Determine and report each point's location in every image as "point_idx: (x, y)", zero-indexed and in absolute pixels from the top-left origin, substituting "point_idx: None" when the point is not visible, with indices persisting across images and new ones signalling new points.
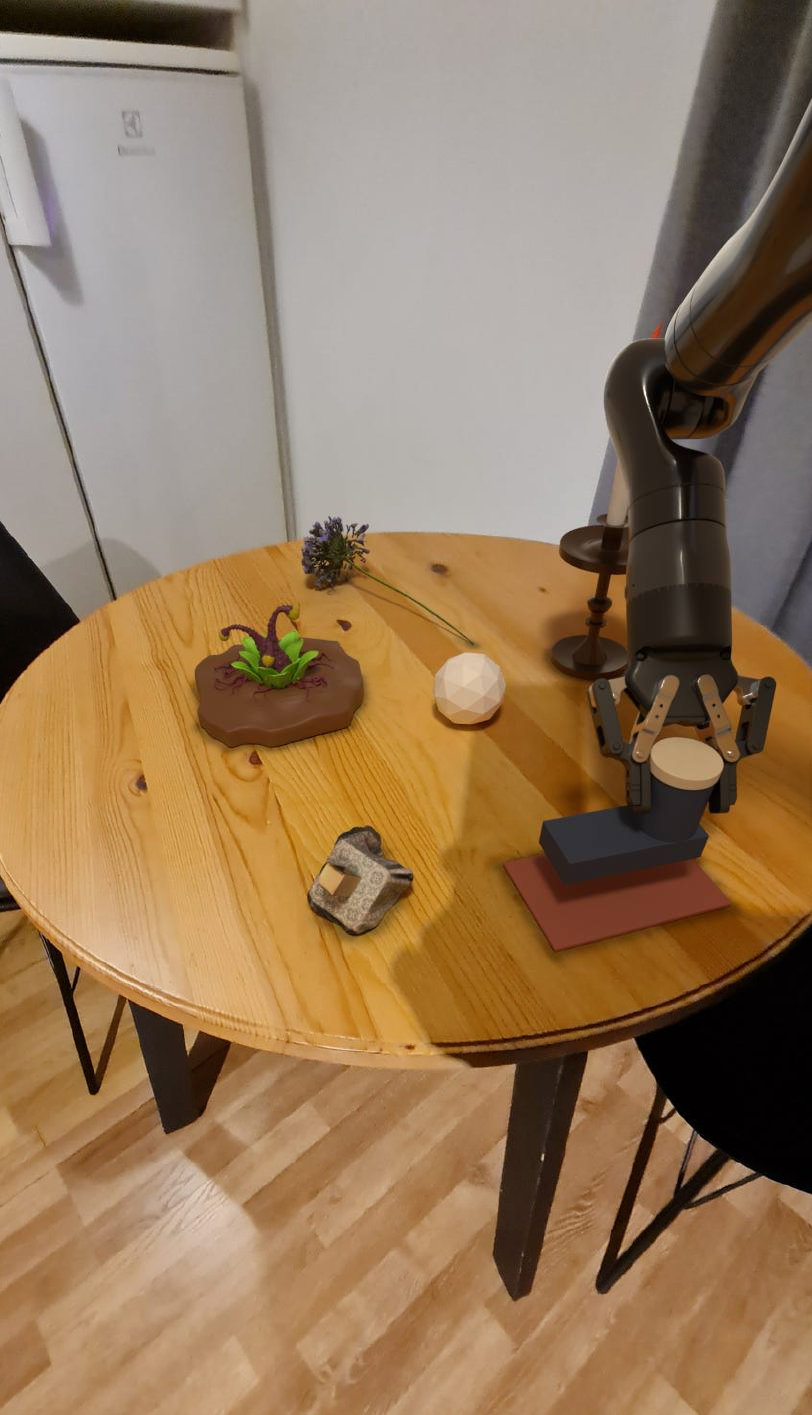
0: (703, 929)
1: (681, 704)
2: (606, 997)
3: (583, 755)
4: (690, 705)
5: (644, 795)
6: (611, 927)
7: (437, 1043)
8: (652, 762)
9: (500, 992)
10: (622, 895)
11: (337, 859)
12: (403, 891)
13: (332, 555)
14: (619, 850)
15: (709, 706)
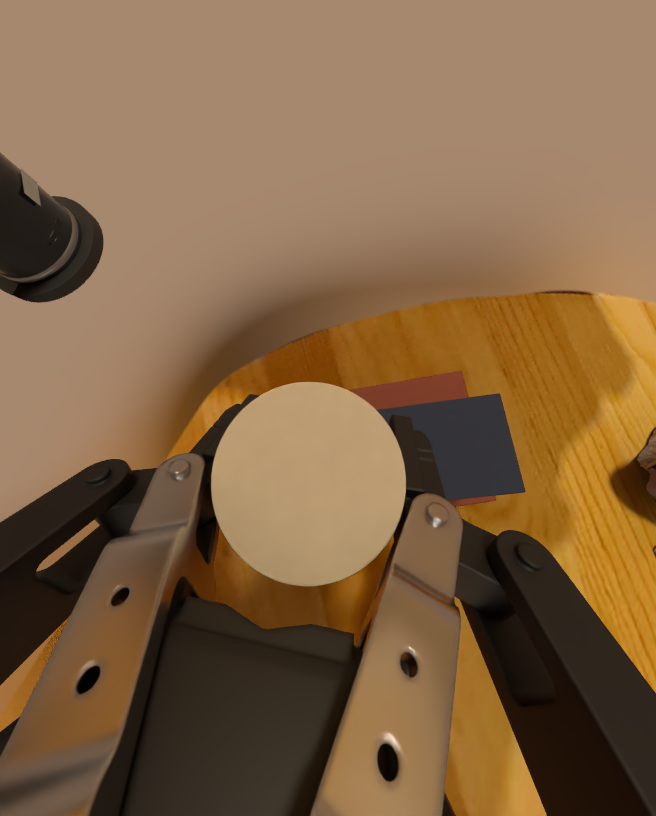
0: (307, 381)
1: (246, 748)
2: (423, 322)
3: None
4: (201, 725)
5: (408, 432)
6: (397, 389)
7: (585, 293)
8: (405, 478)
9: (520, 336)
10: None
11: None
12: (640, 465)
13: None
14: (417, 410)
15: (117, 675)
